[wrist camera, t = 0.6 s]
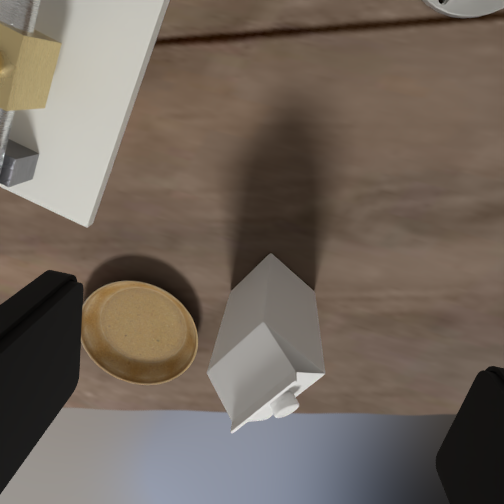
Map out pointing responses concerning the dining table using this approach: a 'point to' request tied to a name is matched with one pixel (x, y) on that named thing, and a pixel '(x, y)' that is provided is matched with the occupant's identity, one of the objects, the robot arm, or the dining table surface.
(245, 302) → the milk carton
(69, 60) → the valve board
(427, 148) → the dining table surface
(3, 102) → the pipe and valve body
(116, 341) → the plant saucer
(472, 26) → the dining table surface
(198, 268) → the dining table surface
